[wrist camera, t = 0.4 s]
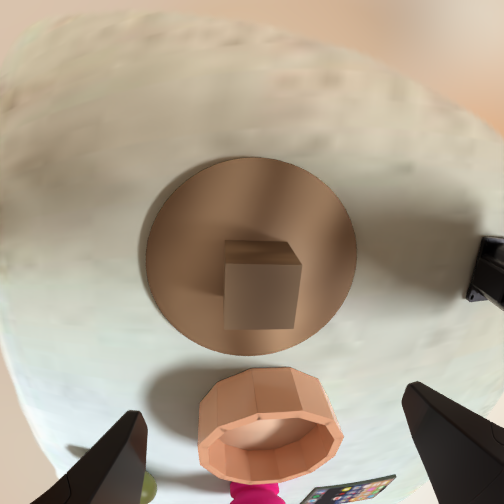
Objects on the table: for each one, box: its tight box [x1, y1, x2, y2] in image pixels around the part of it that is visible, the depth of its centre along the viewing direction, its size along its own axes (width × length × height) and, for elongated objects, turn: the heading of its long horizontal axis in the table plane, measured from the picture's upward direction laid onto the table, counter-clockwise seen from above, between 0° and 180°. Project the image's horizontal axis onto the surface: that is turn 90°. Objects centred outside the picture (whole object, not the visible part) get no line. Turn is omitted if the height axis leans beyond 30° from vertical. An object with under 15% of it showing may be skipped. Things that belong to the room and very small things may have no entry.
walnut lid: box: [146, 158, 357, 356], centre depth 19 cm, size 14×14×5 cm
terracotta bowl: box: [198, 367, 344, 485], centre depth 23 cm, size 12×12×5 cm
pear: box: [140, 471, 157, 504], centre depth 26 cm, size 6×5×10 cm
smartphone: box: [301, 475, 396, 504], centre depth 35 cm, size 8×15×1 cm, turn 77°
